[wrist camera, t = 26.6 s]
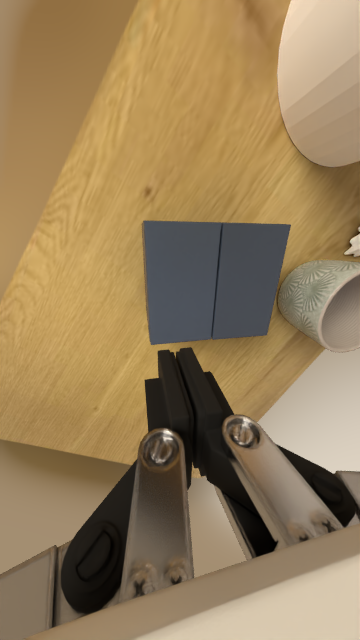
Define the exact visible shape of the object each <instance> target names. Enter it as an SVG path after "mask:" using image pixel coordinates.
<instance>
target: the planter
mask: <svg viewBox="0 0 360 640" xmlns="http://www.w3.org/2000/svg"><path fill="white" fill-rule="evenodd" d="M278 306H279V309H280V312H281V314H282V315H283V316H284V318H285V319H286V320H287V321H288V322H289V323H291V324H292V325H293V326H294V327H296V328H297V329H298V330H300V331H301V332H303V333H304V334H306V335H307V336H309V337H310V338H311V339H313V340H314V341H316V342H317V343H319V344H320V345H322V346H323V347H325V348H326V349H328V350H330V351H333V352H349V351H352V350H355V349H358V348H360V263H359V262H349V261H338V260H315V261H310V262H307V263H304V264H302V265H300V266H298V267H297V268H295V269H294V270H293V271H292V272H291V273H290V274H289V275H288V276H287V277H286V278H285V280H284V281H283V283H282V285H281V287H280V290H279V294H278Z"/></svg>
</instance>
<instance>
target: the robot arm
mask: <svg viewBox="0 0 360 640" xmlns="http://www.w3.org/2000/svg"><path fill="white" fill-rule="evenodd" d="M158 374H159V378H155V379H147V380H145V392H146V405H147V419H148V432H149V433H147V434H146V435H145V436H144V438H143V439H142V441H141V442H140V446H139V450H138V457H137V460H136V461H135V462H134V464H133V465H132V466H131V467H130V469H129V470H128V471H127V472H126V474H125V475H124V476H123V477H122V478H121V480H120V481H119V482H118V483H117V484H116V486H115V487H114V488H113V489H112V491H111V492H110V493H109V494H108V495H107V497H106V498H105V499H104V500H103V502H102V503H101V504H100V505H99V506H98V508H97V509H96V510H95V511H94V513H93V514H92V515H91V516H90V517H89V519H88V520H87V521H86V522H85V524H84V525H83V526H82V527H81V529H80V530H79V531H78V532H77V534H76V535H75V537H74V538H73V539H72V540H71V541H69V542H67V543H65V544H63V545H62V546H60V547H58V548H57V546H56V545H54V546H52V547H51V548H49V549H47V550H45V551H43V552H41V553H40V554H38V555H36V556H34V557H32V558H30V559H28V560H26V561H25V562H23V563H21V564H19V565H17V566H15V567H13V568H12V569H10V570H8V571H6V572H4V573H2V574H0V640H360V472H355V471H336V473H335V474H332V473H331V472H329V471H328V470H326V469H324V468H322V467H320V466H318V465H316V464H314V463H312V462H310V461H308V460H306V459H304V458H302V457H300V456H298V455H296V454H294V453H292V452H290V451H288V450H286V449H284V448H283V447H280V446H278V445H276V444H275V443H274V442H273V441H272V440H271V438H270V437H269V436H268V435H267V434H266V432H265V431H264V430H263V429H262V428H261V426H260V425H259V424H258V423H257V422H256V421H254V420H253V419H251V418H250V417H247V416H244V415H237V414H236V415H234V413H233V411H232V409H231V408H230V406H229V404H228V402H227V400H226V398H225V397H224V395H223V393H222V391H221V389H220V387H219V386H218V384H217V382H216V380H215V378H214V376H213V375H212V373H211V372H210V371H209V372H203V370H202V368H201V366H200V364H199V362H198V360H197V358H196V356H195V354H194V352H193V350H192V348H191V347H190V348H180V351H179V352H176V358H175V355H174V352H170V351H169V350H160V351H158ZM192 462H193V466H194V468H199V471H200V475H201V477H202V476H206V477H207V480H208V481H209V482H210V483H212V484H213V485H214V486H215V489H216V493H217V495H218V497H219V499H220V502H221V504H222V506H223V508H224V510H225V513H226V515H227V517H228V519H229V522H230V524H231V526H232V528H233V531H234V533H235V535H236V537H237V539H238V542H239V544H240V546H241V548H242V551H243V553H244V555H245V557H246V559H247V561H244V562H241V563H238V564H235V565H232V566H229V567H226V568H223V569H220V570H217V571H214V572H211V573H208V574H205V575H203V576H200V577H196V578H194V568H193V556H192V542H191V530H190V518H189V504H188V492H187V491H188V489H189V487H190V485H191V473H192Z"/></svg>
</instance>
